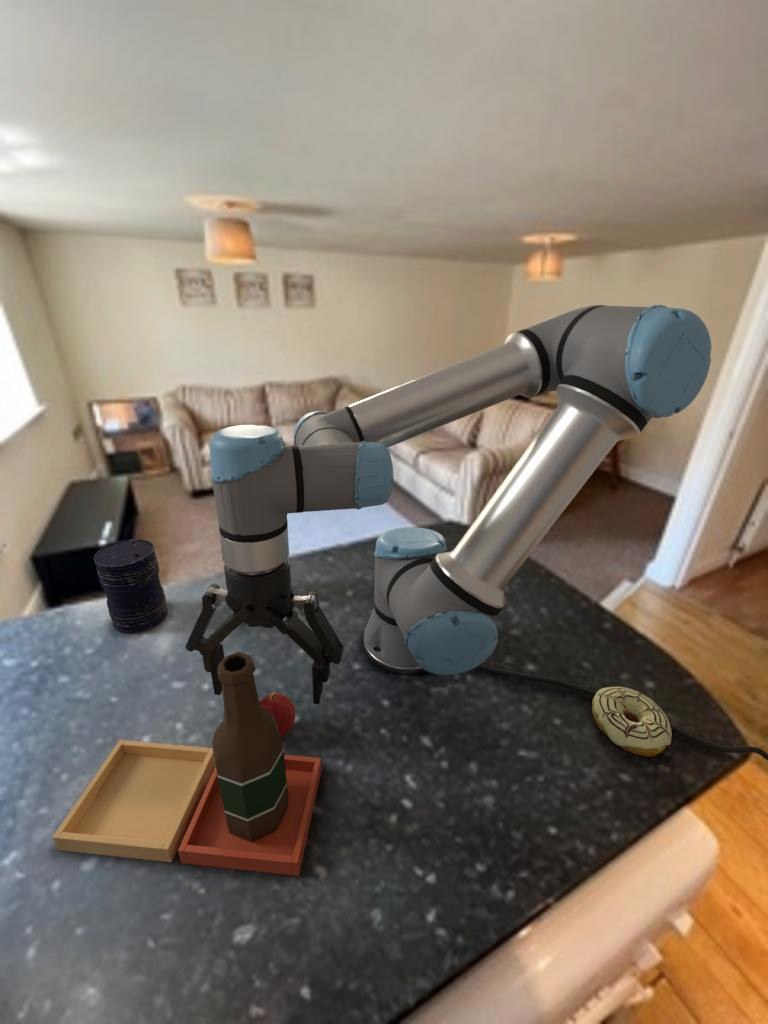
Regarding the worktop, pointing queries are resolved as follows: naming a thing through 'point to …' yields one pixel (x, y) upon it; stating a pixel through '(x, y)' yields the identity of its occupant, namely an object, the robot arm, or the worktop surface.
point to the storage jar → (132, 585)
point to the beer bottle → (248, 755)
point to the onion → (280, 711)
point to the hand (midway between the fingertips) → (269, 691)
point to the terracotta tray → (267, 854)
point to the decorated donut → (637, 736)
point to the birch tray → (138, 802)
